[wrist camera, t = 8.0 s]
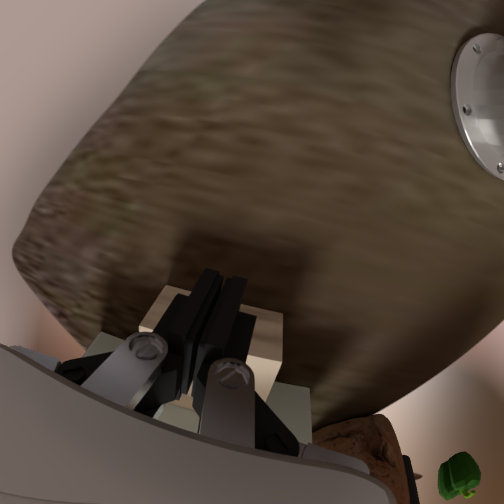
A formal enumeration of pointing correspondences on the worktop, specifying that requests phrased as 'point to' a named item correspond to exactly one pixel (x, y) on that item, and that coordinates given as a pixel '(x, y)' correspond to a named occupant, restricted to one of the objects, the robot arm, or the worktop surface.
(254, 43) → the worktop surface
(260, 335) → the beech block
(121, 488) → the robot arm
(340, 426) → the brown rounded tall lump
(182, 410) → the sage board
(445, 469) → the bell pepper
